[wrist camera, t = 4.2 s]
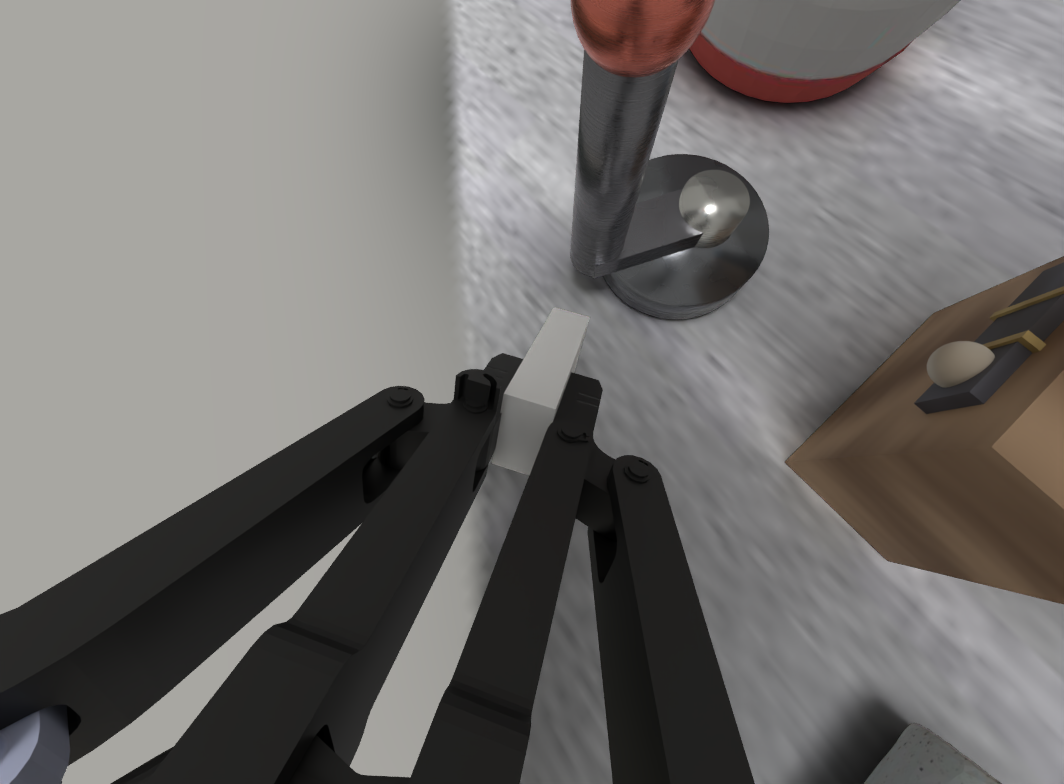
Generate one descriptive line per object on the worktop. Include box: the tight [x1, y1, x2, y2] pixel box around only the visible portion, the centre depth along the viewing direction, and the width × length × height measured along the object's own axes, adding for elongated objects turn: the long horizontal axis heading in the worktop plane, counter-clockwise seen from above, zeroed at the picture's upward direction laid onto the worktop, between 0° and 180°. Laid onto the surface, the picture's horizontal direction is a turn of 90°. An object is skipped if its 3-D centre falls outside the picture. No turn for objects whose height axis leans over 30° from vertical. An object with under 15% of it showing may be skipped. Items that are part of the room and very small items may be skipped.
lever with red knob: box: [570, 0, 769, 319], centre depth 15 cm, size 10×8×15 cm
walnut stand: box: [785, 256, 1064, 604], centre depth 16 cm, size 11×8×10 cm
